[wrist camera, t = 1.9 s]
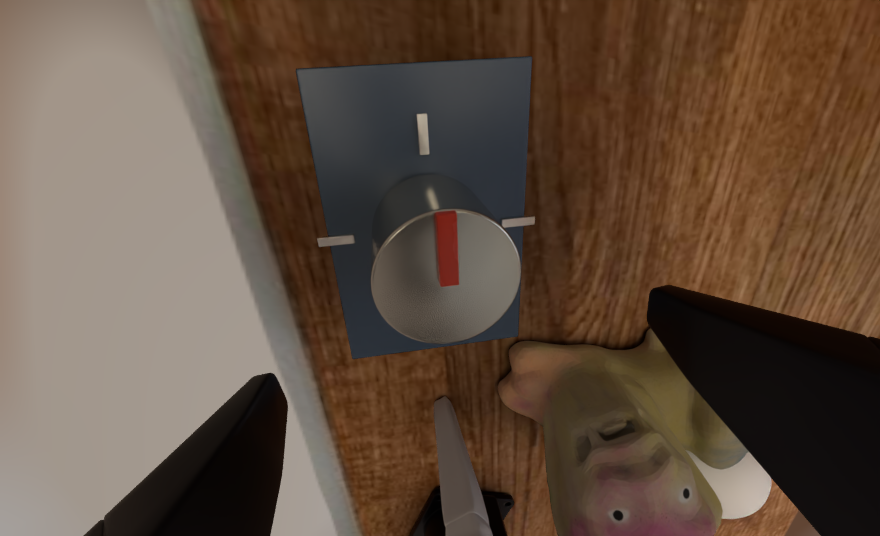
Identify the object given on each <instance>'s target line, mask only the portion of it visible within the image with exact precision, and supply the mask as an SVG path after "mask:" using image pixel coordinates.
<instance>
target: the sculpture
mask: <svg viewBox="0 0 880 536" xmlns="http://www.w3.org/2000/svg"><path fill="white" fill-rule="evenodd" d="M509 360H510V364H511V367H512V370H511V371H510V373H509V374H508V375H507V376H506V377H505V378H504V379H503V380H501V381H500V382H499V385H498V392H499V395H500V398H501V400H502V401H503V403H504V404H505V405H506V406H507V407H508V408H509V409H511V410H513V411H515V412H517V413H519V414H522V415H524V416H527V417H530V418H532V419H533V420H535V421H536V422H537V423H539V424H540V425H542V426H543V428H544V441H545V458H546V472H547V482H548V486H549V492H550V502H551V508H552V514H553V519H554V523H555V527H556V531H557V534H558V536H714V534H715V532H716V530H717V528H718V527H719V525H720V523H721V519H722V513H723V510H722V506H721V503H720V501H719V499H718V497H717V495H716V493H715V492H714V490H713V489H712V487H711V486H710V485H709V483H708V482H707V480H706V479H705V477H704V476H703V474H702V473H701V472H700V470H699V469H698V467H697V466H696V464H695V463H694V461H693V460H692V458H691V457H690V456H689V454H688V453H687V451H686V450H688V451H690V452H692V453H693V454H694V455H695V456H696V457H697V458H699V459H700V460H701V461H702V462H704V463H705V464H707V465H708V466H710V467H712V468H715V469H721V470H722V469H726V468H730V467H732V466H734V465H735V464H737V463H739V462H740V461H741V460H742V459H743V458H744V457H745V455H746V453H748V452H749V451H748V450H747V449H746V448H745V447H744V446H743V444H742V443H741V442H740V441H739V440H738V439H737V437H736V436H735V435H734V434H733V433H732V432H731V430H730V429H729V428H728V427H727V426H726V425H725V423H724V422H723V421H722V420H721V419H720V418H719V416H718V415H717V414H716V413H715V412H714V411H713V409H712V408H711V407H710V406H709V405H708V404H707V402H706V401H705V400H704V399H703V398H702V397H701V395H700V394H699V393H698V392H697V391H696V390H695V388H694V387H693V386H692V385H691V384H690V382H689V381H688V380H687V379H686V377H685V376H684V375H683V373H682V372H681V371H680V369H679V368H678V367H677V365H676V364H675V362H674V361H673V359H672V358H671V357H670V355H669V354H668V352H667V351H666V349H665V348H664V346H663V345H662V344H661V342H660V341H659V339H658V338H657V336H656V335H655V334H654V332H653V331H652V329H651V328H650V329H649V330H648V331H647V332H646V337H645V340H644V342H643V343H642V344H641V345H639V346H638V347H636V348H633V349H628V350H609V349H606V348H603V347H600V346H594V345H586V344H579V345H557V344H549V343H543V342H537V341H521V342H518V343H516V344H514V345H513V346H512V347H511V348H510V350H509Z"/></svg>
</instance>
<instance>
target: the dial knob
mask: <svg viewBox="0 0 880 536" xmlns="http://www.w3.org/2000/svg"><path fill="white" fill-rule="evenodd" d="M520 278H521V261H520V255H519V252H518V249H517V247H516V245H515V243H514V241H513V239H512V237H511V236H510V235H509V233H508V232H507V231H506V230H505V228H504V227H503V226H502V225H501V224H500V223H499V222H498V220H497V219H496V218H495V217H494V216H493V215H492V213H491V212H490V211H489V210H488V209H487V208H486V207H485V205H484V204H483V203H482V202H481V201H480V200H479V199H478V197H477V196H476V195H475V194H474V193H473V192H472V191H471V190H470V189H469V188H468V187H467V186H466V185H464V184H463V183H462V182H460V181H458V180H456V179H454V178H451V177H449V176H445V175H440V174H423V175H417V176H414V177H410V178H408V179H406V180H403V181H402V182H400V183H398V184H397V185H395V186H394V187H393V188H392V189H390V190H389V191H388V192H387V193H386V194H385V196H384V197H383V198H382V200H381V201H380V203H379V205H378V206H377V208H376V211H375V214H374V217H373V222H372V239H371V278H370V283H371V292H372V297H373V300H374V303H375V305H376V308H377V309H378V311H379V313H380V314H381V316H382V317H383V318H384V320H385V321H386V322H387V323H388V324H389V325H390V326H391V327H392V328H394V329H395V330H396V331H398V332H399V333H401V334H403V335H405V336H406V337H408V338H411V339H414V340H416V341H420V342H424V343H431V344H448V343H455V342H460V341H463V340H467V339H470V338H472V337H474V336H477V335H479V334H480V333H482V332H484V331H486V330H487V329H489V328H490V327H491V326H493V325H494V324H495V323H496V322H497V321H499V320H500V318H501V317H502V316H503V315H504V314H505V313H506V312H507V310H508V309H509V307H510V306H511V304H512V302H513V301H514V299H515V296H516V294H517V291H518V288H519V284H520Z"/></svg>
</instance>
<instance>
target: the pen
mask: <svg viewBox="0 0 880 536" xmlns="http://www.w3.org/2000/svg"><path fill="white" fill-rule="evenodd" d="M434 421H435V430H436V440H437V452H438V464H439V478H440V491H441V503H442V512H443V520H444V524H445V527H446V536H493V534H492V531H491V529H490V526H489V519H488V515H487V512H486V508H485V504H484V500H483V497H482V493H481V490H480V487H479V484H478V481H477V479H476V476H475V473H474V470H473V467H472V464H471V461H470V457H469V454H468V451H467V448H466V445H465V442H464V439H463V436H462V433H461V430H460V427H459V423H458V420H457V417H456V414H455V411H454V408H453V406H452V403H451V402H450V400H449V399H448V398H447V397H446V396H444V397H442V398H441V399H439V400H436V401H435V403H434Z"/></svg>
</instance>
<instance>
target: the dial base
mask: <svg viewBox="0 0 880 536" xmlns="http://www.w3.org/2000/svg"><path fill="white" fill-rule="evenodd" d="M531 66H532V57H531V56H528V57H509V58H490V59H471V60H452V61H433V62H414V63H395V64H376V65H358V66H339V67H320V68H301V69H296V75H297V80H298V85H299V90H300V95H301V100H302V105H303V110H304V115H305V120H306V126H307V131H308V136H309V141H310V146H311V151H312V156H313V161H314V166H315V171H316V176H317V181H318V187H319V192H320V197H321V202H322V207H323V212H324V217H325V222H326V227H327V232H328V236H326V237H318V238H317V241H318V245H319V247H323V246H330V248H331V253H332V258H333V263H334V268H335V273H336V278H337V283H338V288H339V293H340V298H341V303H342V309H343V314H344V319H345V324H346V329H347V334H348V339H349V344H350V349H351V354H352V358H353V359H357V358H365V357H372V356H379V355H387V354H394V353H401V352H408V351H416V350H423V349H430V348H437V347H445V346H452V345H459V344H466V343H474V342H481V341H488V340H496V339H503V338H510V337H517V336H518V325H519V305H520V285H521V278H520V284H519V288H518V291H517V294H516V296H515V299H514V301H513V302H512V304H511V306H510V307H509V309H508V310H507V312H506V313H505V314H504V315H503V316H502V317H501V318H500V320H499V321H497V322H496V323H495V324H494V325H493V326H491V327H490V328H489V329H487V330H486V331H484V332H482V333H480V334H479V335H477V336H474V337H472V338H470V339H467V340H463V341H460V342H455V343H448V344H431V343H424V342H420V341H416V340H414V339H411V338H408V337H406V336H405V335H403V334H401V333H399V332H398V331H396V330H395V329H394V328H392V327H391V326H390V325H389V324H388V323H387V322H386V321H385V320H384V318H383V317H382V316H381V314H380V313H379V311H378V309H377V308H376V305H375V303H374V300H373V297H372V292H371V283H370V278H371V239H372V222H373V217H374V214H375V211H376V208H377V206H378V205H379V203H380V201H381V200H382V198H383V197H384V196H385V194H386V193H387V192H388V191H389V190H390V189H392V188H393V187H394V186H395V185H397V184H398V183H400V182H402V181H403V180H406V179H408V178H410V177H414V176H417V175H423V174H440V175H445V176H449V177H451V178H454V179H456V180H458V181H460V182H462V183H463V184H464V185H466V186H467V187H468V188H469V189H470V190H471V191H472V192H473V193H474V194H475V195H476V196H477V197H478V199H479V200H480V201H481V202H482V203H483V204H484V205H485V207H486V208H487V209H488V210H489V211H490V212H491V213H492V215H493V216H494V217H495V218H496V219H497V220H498V222H499V223H500V224H501V225H502V226H503V227H504V228H505V230H506V231H507V232H508V233H509V235H510V236H511V237H512V239H513V241H514V243H515V245H516V247H517V249H518V252H519V255H520V261H521V265H522V245H523V226H525V225H534V223H535V216H534V215H533V216H524V205H525V185H526V166H527V146H528V126H529V106H530V86H531Z"/></svg>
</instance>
